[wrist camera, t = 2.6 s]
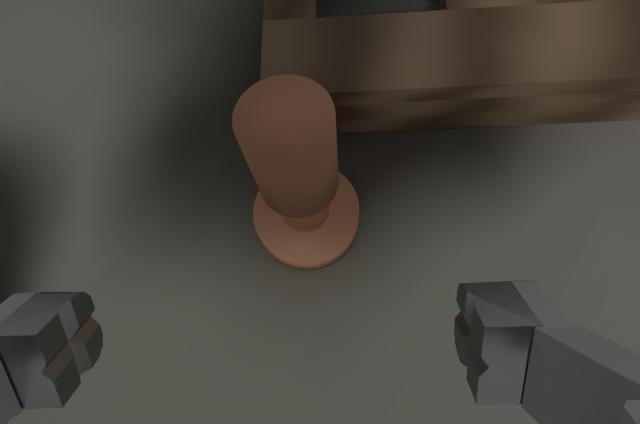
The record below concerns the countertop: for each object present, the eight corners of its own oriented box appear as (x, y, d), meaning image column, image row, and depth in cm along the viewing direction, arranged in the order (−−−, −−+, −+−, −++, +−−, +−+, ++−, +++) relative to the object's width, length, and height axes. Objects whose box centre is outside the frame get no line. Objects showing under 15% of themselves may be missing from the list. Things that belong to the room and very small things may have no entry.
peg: (256, 271, 21) (195, 193, 12) (260, 178, 23) (209, 56, 14) (361, 268, 20) (370, 186, 12) (356, 174, 22) (361, 47, 14)
